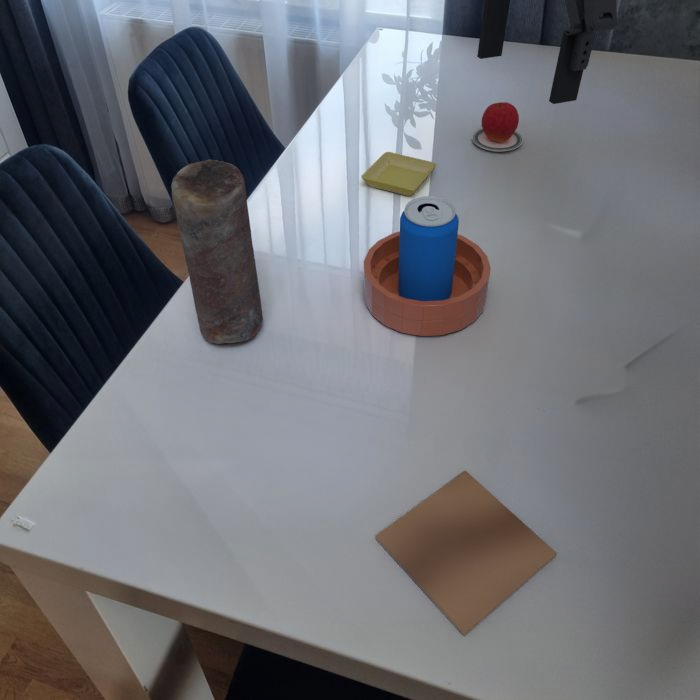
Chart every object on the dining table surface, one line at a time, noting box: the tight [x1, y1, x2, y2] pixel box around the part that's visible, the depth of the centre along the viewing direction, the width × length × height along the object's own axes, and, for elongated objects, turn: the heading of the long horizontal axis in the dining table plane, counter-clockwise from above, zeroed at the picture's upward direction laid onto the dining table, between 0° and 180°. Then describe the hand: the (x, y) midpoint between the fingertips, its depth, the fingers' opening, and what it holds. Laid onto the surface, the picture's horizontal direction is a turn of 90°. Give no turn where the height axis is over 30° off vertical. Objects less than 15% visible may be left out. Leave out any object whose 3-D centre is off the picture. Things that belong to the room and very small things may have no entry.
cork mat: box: [375, 470, 558, 637], centre depth 59 cm, size 11×11×1 cm
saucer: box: [360, 151, 438, 197], centre depth 101 cm, size 9×9×2 cm
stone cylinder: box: [170, 158, 264, 345], centre depth 73 cm, size 8×7×20 cm
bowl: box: [363, 231, 491, 337], centre depth 81 cm, size 15×15×5 cm
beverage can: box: [398, 195, 460, 301], centre depth 78 cm, size 6×6×12 cm
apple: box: [471, 101, 524, 153], centre depth 107 cm, size 8×8×6 cm
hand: (523, 77), depth 72 cm, fingers open, 13 cm apart
